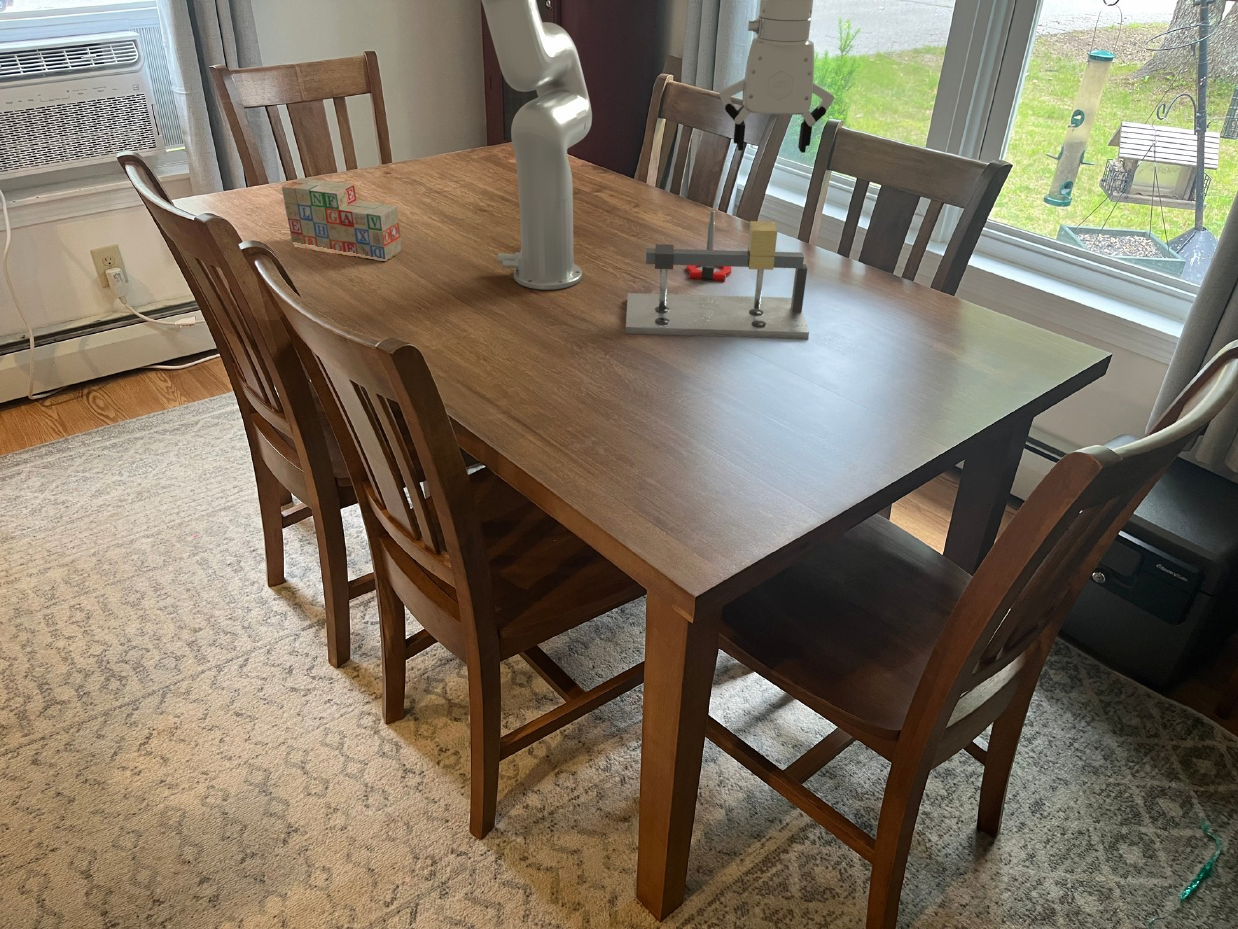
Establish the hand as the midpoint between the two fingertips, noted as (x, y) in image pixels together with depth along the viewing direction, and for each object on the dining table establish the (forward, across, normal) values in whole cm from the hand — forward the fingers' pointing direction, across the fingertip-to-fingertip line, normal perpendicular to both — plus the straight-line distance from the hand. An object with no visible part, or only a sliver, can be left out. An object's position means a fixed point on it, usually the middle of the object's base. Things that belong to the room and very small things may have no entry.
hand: (770, 149), depth 149 cm
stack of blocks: (+29, -77, +25) cm, 86 cm away
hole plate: (+28, -7, -2) cm, 29 cm away
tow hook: (+28, -7, +19) cm, 35 cm away
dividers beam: (+27, -5, 0) cm, 27 cm away
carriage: (+26, 0, 0) cm, 26 cm away
